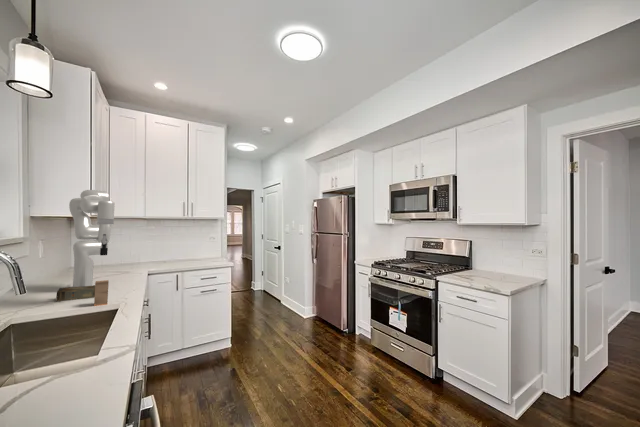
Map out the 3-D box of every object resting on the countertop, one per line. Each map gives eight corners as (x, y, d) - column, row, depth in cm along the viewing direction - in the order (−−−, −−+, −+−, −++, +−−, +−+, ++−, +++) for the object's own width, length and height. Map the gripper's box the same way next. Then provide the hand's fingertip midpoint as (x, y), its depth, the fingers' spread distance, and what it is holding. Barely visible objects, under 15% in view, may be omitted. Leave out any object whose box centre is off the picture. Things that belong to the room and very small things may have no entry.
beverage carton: (100, 297, 163) (100, 286, 163) (55, 302, 151) (56, 290, 152) (101, 294, 169) (101, 283, 169) (58, 299, 158) (58, 287, 158)
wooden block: (94, 303, 149) (95, 281, 150) (107, 302, 152) (108, 280, 153) (94, 306, 145) (95, 282, 145) (107, 304, 148) (108, 281, 148)
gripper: (97, 222, 163) (95, 254, 162) (96, 222, 150) (94, 256, 149) (113, 222, 167) (111, 253, 166) (113, 222, 154) (112, 256, 154)
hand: (103, 254), depth 158 cm, fingers closed
